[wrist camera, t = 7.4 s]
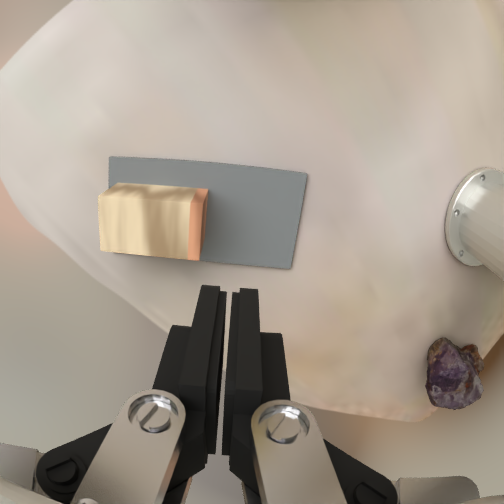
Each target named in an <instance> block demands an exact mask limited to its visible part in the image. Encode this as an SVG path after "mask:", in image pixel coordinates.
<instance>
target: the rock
mask: <svg viewBox="0 0 504 504" xmlns="http://www.w3.org/2000/svg"><path fill="white" fill-rule="evenodd" d="M427 360H428V370H427V383H426V385H425V386H426V389H427V393H428V396H429V399H430V401H431V403H432V404H433V405H434V406H436V407H443V408H444V407H445V408H448V409H454V410H456V409H461V408H465V407H466V406H467V405H470V404H472V403H474V402H475V401H476V400H478V399H480V398H481V393H482V392H483V385H482V384H481V380H480V378H479V376H478V375H479V372H480V371H482V370H483V369H484V363H483V360H482V358H481V357H480V355H479V353H478V348H477V347H476V345H473V344H471V345H467V346H465V347H464V348H462V349H459V347H458V346H455V345H453V344H452V343H451V341H450V340H448V339H446V338H441V339H439V340H437V341H435V343H434V344H433V345H432V346H431V347H430V348H429V353H428V359H427Z"/></svg>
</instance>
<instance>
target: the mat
mask: <svg viewBox="0 0 504 504" xmlns="http://www.w3.org/2000/svg"><path fill="white" fill-rule="evenodd" d="M306 179H307V173H301V172H294V171H287V170H279V169H271V168H263V167H254V166H245V165H235V164H225V163H214V162H202V161H189V160H175V159H158V158H137V157H109V188H111V187H112V186H114V185H115V184H117V183H133V184H149V185H164V186H178V187H190V188H202V189H208V200H207V212H206V226H205V239H204V243H203V247H202V251H201V255H200V259H199V261H209V262H219V263H230V264H241V265H252V266H263V267H274V268H286V269H290V268H291V263H292V257H293V252H294V247H295V241H296V236H297V230H298V225H299V219H300V214H301V208H302V202H303V197H304V191H305V185H306Z"/></svg>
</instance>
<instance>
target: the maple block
mask: <svg viewBox="0 0 504 504" xmlns="http://www.w3.org/2000/svg"><path fill="white" fill-rule="evenodd" d="M207 200H208V189H202V188H190V187H178V186H164V185H149V184H133V183H117V184H115V185H114V186H112V187H111V188H109V189H108V190H106V191H105V192H104V193H102V194H101V195H99V196H98V212H99V233H100V247H101V251H107V252H117V253H126V254H136V255H146V256H156V257H166V258H176V259H187V260H197V261H199V259H200V255H201V251H202V247H203V243H204V239H205V226H206V212H207Z"/></svg>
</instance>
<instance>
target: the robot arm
mask: <svg viewBox="0 0 504 504" xmlns="http://www.w3.org/2000/svg"><path fill="white" fill-rule="evenodd" d="M445 233H446V240H447V244H448V247H449V249H450V251H451V252H452V254H453V255H454V256H455V257H456V258H457V259H458V260H459V261H460V262H462V263H463V264H465V265H468V266H480V265H483V264H484V265H485V266H486V267H487V268H489V269H490V270H491V271H492V272H493V273H494V274H496V275H497V276H498V277H499V278H500V279H501V280H503V281H504V173H503V172H501V171H499V170H496V169H493V168H481V169H478V170H476V171H474V172H472V173H471V174H469V175H468V176H467V177H466V178H465V179H464V180H463V181H462V182H461V183H460V185H459V186H458V188H457V189H456V191H455V192H454V195H453V197H452V199H451V201H450V204H449V207H448V211H447V216H446V222H445ZM226 297H227V292H224V291H220V286H209V285H202V286H201V290H200V294H199V298H198V302H197V306H196V310H195V314H194V319H193V323H192V327H188V326H178V325H172V327H171V329H170V332H169V335H168V339H167V342H166V345H165V348H164V352H163V355H162V358H161V361H160V365H159V368H158V372H157V375H156V378H155V382H154V385H153V388H152V390H144V391H141V392H138V393H136V394H134V395H132V396H131V397H129V398H128V399H127V401H126V402H125V403H124V404H123V406H122V408H121V410H120V412H119V413H118V415H117V417H116V419H115V421H114V422H113V423H112V424H109V425H107V426H105V427H103V428H101V429H99V430H97V431H94V432H92V433H90V434H87V435H85V436H83V437H81V438H78V439H76V440H74V441H71V442H69V443H67V444H64V445H62V446H59V447H57V448H55V449H52V450H50V451H48V452H47V453H40V452H39V451H38V450H37V449H33V448H27V447H21V446H15V445H9V444H4V443H0V504H185V501H186V498H187V495H188V491H189V488H190V485H191V482H192V476H193V475H194V474H196V473H197V472H199V471H201V470H202V469H204V468H205V464H206V463H207V458H208V454H215V453H216V440H217V428H218V415H219V402H220V391H221V379H222V368H223V352H224V333H225V314H226ZM224 398H225V399H224V417H223V438H222V455H229V456H230V457H229V465H230V471H231V472H232V473H234V474H235V475H236V476H237V477H238V478H239V479H240V480H242V482H241V485H242V490H243V496H244V502H245V504H504V495H497V496H489V497H483V498H480V496H479V491H478V488H477V485H476V484H475V483H474V482H473V481H472V480H471V479H469V478H467V477H464V476H451V477H431V478H399V479H398V480H397V481H390V480H389V479H387V478H386V477H385V476H383V475H381V474H379V473H378V472H376V471H374V470H373V469H371V468H369V467H368V466H366V465H364V464H363V463H361V462H359V461H358V460H356V459H354V458H352V457H351V456H350V455H348V454H346V453H345V452H343V451H342V450H340V449H338V448H337V447H335V446H334V445H332V444H330V443H329V442H328V441H326V440H325V439H323V438H322V435H321V433H320V430H319V428H318V425H317V422H316V419H315V418H314V416H313V414H312V413H311V412H310V411H309V410H308V409H307V408H306V407H305V406H303V405H301V404H299V403H297V402H293V401H291V400H290V392H289V384H288V376H287V368H286V361H285V353H284V345H283V338H282V334H281V333H265V332H260V319H259V297H258V289H248V288H240V293H237V292H232V304H231V316H230V329H229V341H228V354H227V367H226V381H225V397H224Z"/></svg>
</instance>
